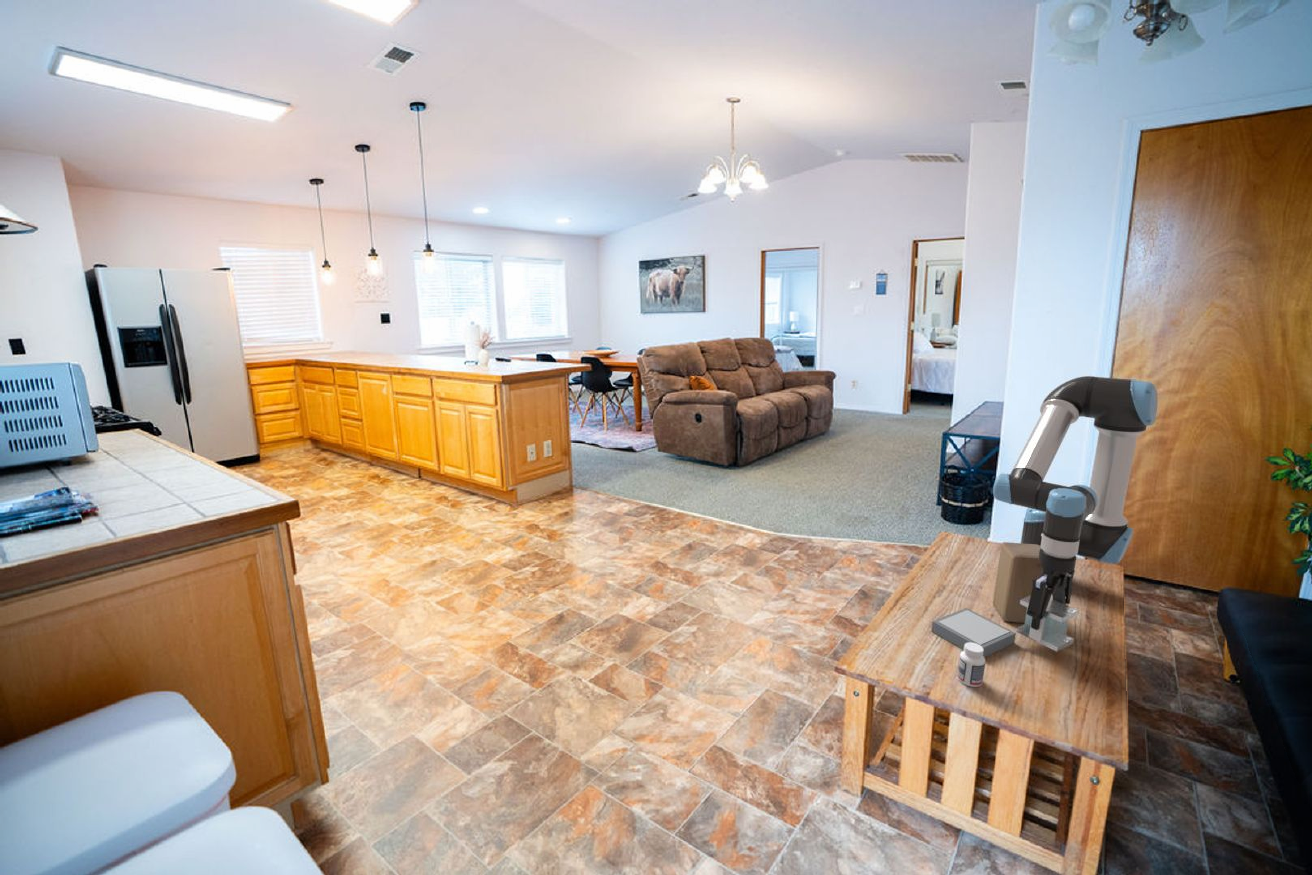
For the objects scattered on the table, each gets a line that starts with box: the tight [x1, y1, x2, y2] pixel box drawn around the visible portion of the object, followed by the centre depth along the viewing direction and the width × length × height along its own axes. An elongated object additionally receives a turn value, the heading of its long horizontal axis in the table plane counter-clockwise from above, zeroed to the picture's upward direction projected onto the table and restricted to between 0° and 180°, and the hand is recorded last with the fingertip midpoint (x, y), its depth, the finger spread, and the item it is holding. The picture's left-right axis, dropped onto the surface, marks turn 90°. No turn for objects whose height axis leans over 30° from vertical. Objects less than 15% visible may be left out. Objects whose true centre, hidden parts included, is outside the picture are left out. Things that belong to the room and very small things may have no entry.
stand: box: [930, 607, 1017, 658], centre depth 156 cm, size 14×14×3 cm
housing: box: [1015, 595, 1079, 653], centre depth 149 cm, size 7×10×9 cm
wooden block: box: [992, 541, 1049, 624], centre depth 164 cm, size 10×10×20 cm
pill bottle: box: [957, 642, 986, 688], centre depth 138 cm, size 5×5×9 cm
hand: (1044, 634), depth 150 cm, fingers closed on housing, 7 cm apart
